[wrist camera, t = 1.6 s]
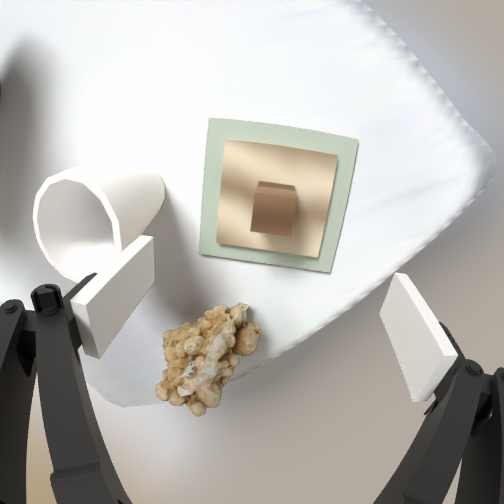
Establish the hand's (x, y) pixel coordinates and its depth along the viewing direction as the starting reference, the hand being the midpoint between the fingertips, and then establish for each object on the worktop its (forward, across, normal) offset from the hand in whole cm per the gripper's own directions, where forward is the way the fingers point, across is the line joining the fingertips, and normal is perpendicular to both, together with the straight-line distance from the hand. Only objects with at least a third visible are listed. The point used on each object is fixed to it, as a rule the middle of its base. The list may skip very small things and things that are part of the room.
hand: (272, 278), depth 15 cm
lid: (+16, 0, 0) cm, 16 cm away
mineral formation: (+17, -6, -16) cm, 24 cm away
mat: (+17, 0, 0) cm, 17 cm away
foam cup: (+17, -15, -1) cm, 23 cm away
